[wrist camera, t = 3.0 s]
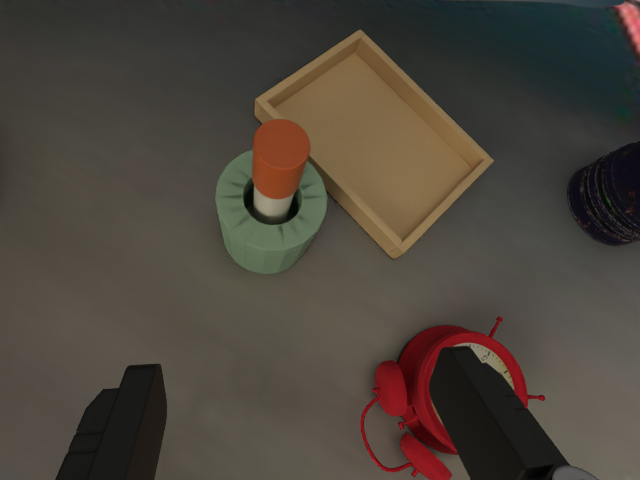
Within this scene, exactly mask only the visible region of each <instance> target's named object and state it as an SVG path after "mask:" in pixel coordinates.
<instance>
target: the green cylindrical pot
mask: <svg viewBox="0 0 640 480" xmlns="http://www.w3.org/2000/svg"><path fill="white" fill-rule="evenodd" d="M252 166H253V150H251V151H247V152H244V153H242V154H241V155H240V156H238V157H237V158H236V159H234V160H233V161H231V162H230V163H229V164H228V165H227V167H226V168H225V170H224V171H223V173H222V174H221V176H220V177H219V179H218V183H217V188H216V193H215V201H216V206H217V211H218V216H219V221H220V225H221V230H222V235H223V239H224V244H225V247H226V249H227V251H228V253H229V254H230V256H231V257H232V258H233V260H234V261H235V262H236V263H237V264H239V265H240V266H241V267H243V268H245V269H246V270H248V271H251V272H254V273H258V274H275V273H279V272H282V271H284V270H287V269H288V268H290V267H291V266H293V265H294V264H295V263H296V262H297V261H298V260H299V259H300V258H301V257H302V255H303V254H304V252H305V251H306V249H307V247H308V246H309V244H310V242H311V241H312V239H313V238H314V236H315V234H316V233H317V231H318V229H319V227H320V226H321V224H322V222H323V220H324V218H325V215H326V209H327V199H328V198H327V194H326V190H325V186H324V182H323V179H322V178H321V176H320V175H319V174H318V172H317V171H316V169H315V168H314V166H312V164H310V163H309V162H308V161H307V163H306V166H305V169H304V172H303V175H302V178H301V181H300V184H299V187H298V189H297V190H296V191H295V193H294V195H293V198H292V202H291V205H290V208H289V211H288V214H287V218H286V221H285V223H283V224H280V225H267V224H264V223H261V222H259V221H257V220H256V219H255V218H253V201H254V183H253V180H252Z"/></svg>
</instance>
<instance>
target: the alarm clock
mask: <svg viewBox="0 0 640 480" xmlns="http://www.w3.org/2000/svg"><path fill="white" fill-rule="evenodd" d="M500 322H502V318H501V317H497V322H496V324H495V326H494V328H493V329H492V330H491V332H490V334H489V336H487V335H484V334H482V333H478V332H474V331H469V330H467V329H464V328H461V327H457V326H450V325H445V326H436V327H432V328H429V329H427V330H425V331H423V332H421V333H419V334H418V335H417V336H415V337H414V338H413V339H412V340H411V341H410V342H409V344H408V345H407V346H406V348H405V349H404V351H403V353H402V355H401V357H400V359H399V362H398V364H397V363H396V362H395V361H393V360H389V361H384V362H382V363H381V364H380V365H378V367H377V370H376V374H375V386H376V388H373V389H372V391H373V392H377V397H376V398H375V399H373V400H372V401H371V402H370V403H369V404H368V405H367V406H366V408H365V409H364V411H363V413H362V417H361V422H360V424H361V433H362V437H363V440H364V443H365V445H366V448H367V450H368V452H369V454H370V455H371V457H372V459H373V460H374V462H375V463H376V464H377V465H378V466H379V467H380V468H381V469H382V470H385V471H387V472H397V471H400V470H403V469H405V468H407V467H410V466H412V467H414V468H415V469H414V471H413V472H412V473H411V475H412V476H413V477H415V476H416V474H417V473H418V472H420V473H421V474H423V475H424V476H425V477H427V478H428V479H430V480H449V479H450V478H451V476H452V474H451V473H450V471H449V470H448V469H447V468H446V467H445V465H444V464H443V463H442V462H441V461H440V460H439V459H438V458H437V457H436V456H435V455H434V454H433V453H432V452H431V451H430V450H428V449H427V448H426V447H425V446H424V445H423V444H422V443H420V442H419V441H418V440H417V438H419V439H420V440H421V441H422V442H424V443H425V444H426V445H428V446H430V447H432V448H433V449H435V450H438V451H440V452H443V453H447V454H454V455H458V453H457V451H456V449H455V447H454V445H453V443H452V441H451V439H450V437H449V435H448V433H447V431H446V429H445V427H444V425H443V423H442V421H441V419H440V417H439V415H438V413H437V411H436V409H435V407H434V405H433V403H432V400H431V397H430V393H429V381H430V378H431V375H432V372H433V369H434V366H435V364H436V361H437V358H438V355H439V352H440V350H441V349H442V348H443V347H453V346H469V347H470V348H471V349H472V350H473V351H474V352H475V354H476V355H477V357H478V358H479V359H480V361H481V362H482V363H488V364H489V365H490V366H492V367H493V368H494V369H495V370H496V371H498V372H499V373H500V374H501V375H503V376H504V378H505V379H506V380H507V382H508V383H509V384H510V386H511V387H512V389H513V390H514V391H515V395H518V397H519V398H520V399H521V401H522V402H523V403H524V405H525V408H526V409H527V406H528V399H540V400H541V401H544V400H545V397H544V396H543V395H540V396H532V395H527V388H526V383H525V379H524V376H523V374H522V371H521V369H520V367H519V365H518V363H517V362H516V360H515V359H514V357H513V356H512V355H511V353H510V352H509V351H508V350H507V349H506V348H505V347H504V346H503V345H501V344H500V343H499V342H497V341H496V340H494V339H492V337H493V335H494V333H495V331H496V329H497V327H498V325H499V323H500ZM377 400H379V402H380V405H381V406H382V408H383V410H384V411H385V412H386V413H387V414H389V415H391V416H402V417H403V419H404V421H405V422H403V423H402V422H399V423H398V425H399V427H400V429H401V430H402V429H404V425H406V424H407V426H408V427H409V429H410V430H411V431H412V432H413V433H414V434H415V435H416V436H415V438H414V437H413V436H411V435H410V434H408V433H406V432H405V434H404V435H403V436H402V438H401V441H400V446H401V450H402V452H403V453H404V455H405V456H406V458H407V459H408V460H409V462H410V463H407V464H405V465H402V466H400V467H397V468H387V467H385V466H383V465H382V464H381V463H380V462H379V461H378V460H377V459H376V457H375V456H374V454H373V452H372V450H371V449H370V447H369V444H368V442H367V439H366V436H365V431H364V418H365V415H366V413H367V411H368V410H369V408H370V407H371V406H372V405H373V404H374V403H375V402H376V401H377Z"/></svg>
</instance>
